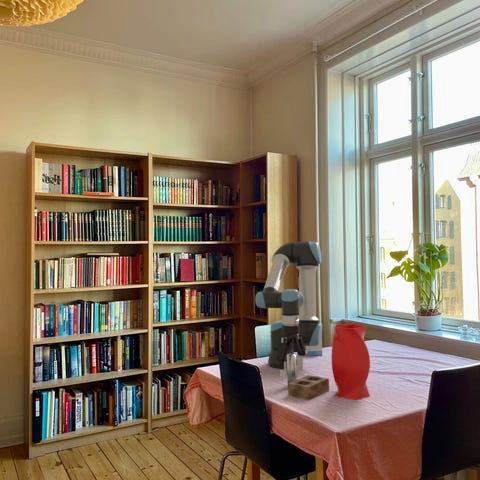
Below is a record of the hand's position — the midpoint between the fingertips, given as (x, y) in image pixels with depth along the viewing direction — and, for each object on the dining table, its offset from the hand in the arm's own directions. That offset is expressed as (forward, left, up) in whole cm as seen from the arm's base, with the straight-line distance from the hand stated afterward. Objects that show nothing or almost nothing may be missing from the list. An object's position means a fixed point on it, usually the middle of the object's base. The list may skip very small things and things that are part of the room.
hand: (291, 373), depth 203 cm
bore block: (+11, -4, -6) cm, 13 cm away
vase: (+26, +4, -6) cm, 27 cm away
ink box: (-26, +62, -6) cm, 67 cm away
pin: (0, 0, -6) cm, 6 cm away
